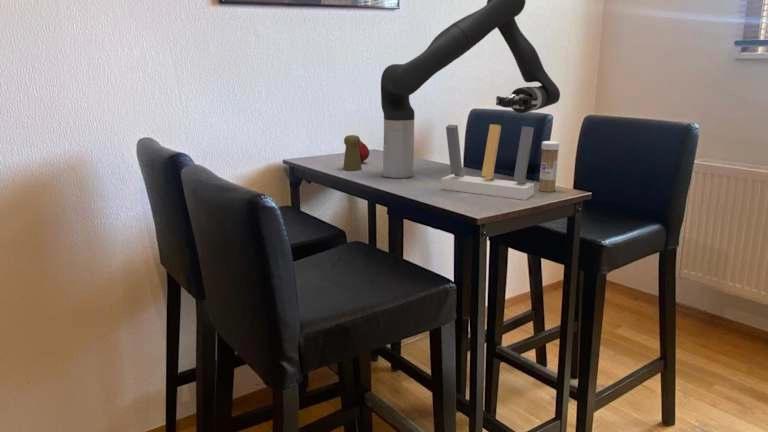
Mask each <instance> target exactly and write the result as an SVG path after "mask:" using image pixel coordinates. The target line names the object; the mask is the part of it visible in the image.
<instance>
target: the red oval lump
mask: <svg viewBox="0 0 768 432" xmlns="http://www.w3.org/2000/svg"><path fill="white" fill-rule="evenodd" d="M359 153H360V160H361V164H362V163H364V162H365V161H366V160H368V158H369V157H370V149H369V148H368V146H367V145H366V144H365V143H364V142H363V141H362V140H361V139H360V144H359Z"/></svg>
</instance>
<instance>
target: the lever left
mask: <svg viewBox="0 0 768 432" xmlns="http://www.w3.org/2000/svg"><path fill="white" fill-rule="evenodd" d="M458 127H459V126H458V124H448V125H446V127H445V130H446V139H447V140H446V141H447V149H448V151H447V152H448V158H449V166H450V168H449V169H450V175H452V174H454V175H455V176H457V177H458V176H460V175H462V173H463V167H462V165H463V164H462V155H461V147H460V145H461V144H460V133H459V128H458Z"/></svg>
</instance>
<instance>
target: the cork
mask: <svg viewBox="0 0 768 432" xmlns="http://www.w3.org/2000/svg"><path fill="white" fill-rule="evenodd" d="M360 140H361V138H360V137H359V135H355V134H350V135H349V134H348V135H346V136H344V140H343V144H344V145H345V152H344V159H343V165H342V167H343V168H342V170H344V171H347V172H356V171H357V172H358V171H362V169H363V168H362V163H361V160H360V153H359V144H360Z"/></svg>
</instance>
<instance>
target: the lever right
mask: <svg viewBox="0 0 768 432" xmlns="http://www.w3.org/2000/svg"><path fill="white" fill-rule="evenodd" d="M534 129H535V128H534V127H532V126H523V125H522V126H521V131H520V138H519V143H518V144H519V145H518V150H517V157H516V163H515V166H514V167H515V168H514V175H513V180H515V181H516V182H517V183H518V184H522V183H523V182H526V179H527V172H528V166H529V160H530V156H531V155H530V153H531V147H532V144H533V143H532V142H533V135H534Z"/></svg>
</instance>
